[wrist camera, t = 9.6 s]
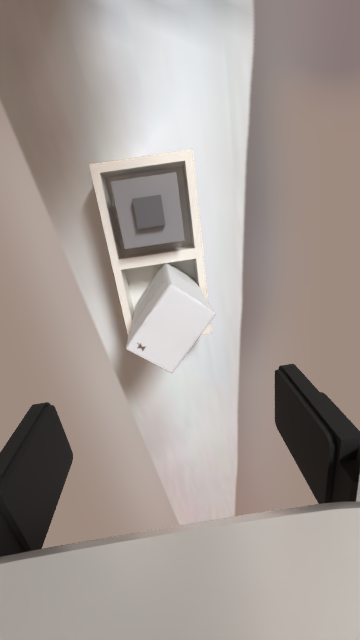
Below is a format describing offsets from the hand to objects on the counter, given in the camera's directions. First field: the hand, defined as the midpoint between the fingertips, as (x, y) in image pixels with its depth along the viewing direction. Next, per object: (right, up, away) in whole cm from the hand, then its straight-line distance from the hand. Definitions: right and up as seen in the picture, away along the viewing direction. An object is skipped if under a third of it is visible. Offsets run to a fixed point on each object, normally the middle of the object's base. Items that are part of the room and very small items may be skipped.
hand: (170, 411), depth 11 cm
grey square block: (-3, +15, +17) cm, 23 cm away
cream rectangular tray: (-2, +11, +19) cm, 22 cm away
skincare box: (-1, +7, +19) cm, 21 cm away
